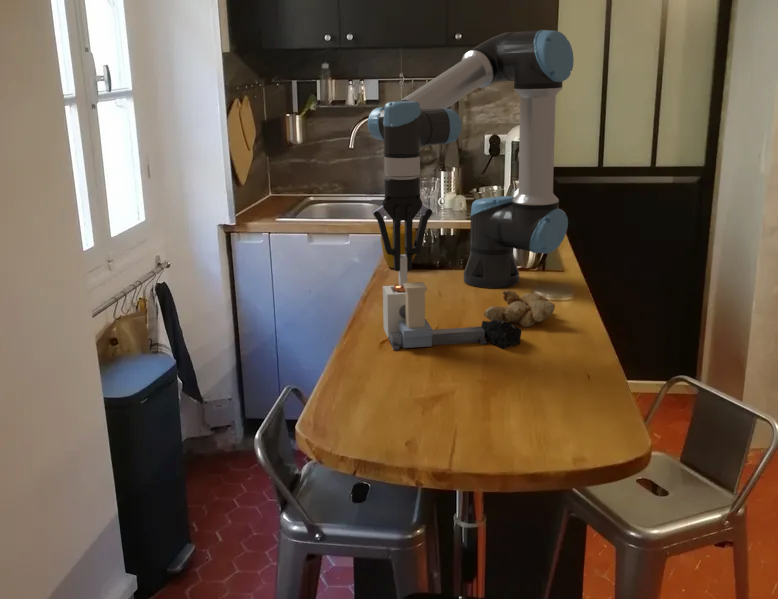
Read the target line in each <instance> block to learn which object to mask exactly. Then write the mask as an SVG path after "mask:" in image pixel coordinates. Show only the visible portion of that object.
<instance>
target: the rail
mask: <svg viewBox="0 0 778 599" xmlns="http://www.w3.org/2000/svg"><path fill="white" fill-rule="evenodd" d="M388 342H389V343H390V346H391V348H392V350H393V351H400V348H403V335H402V333H401V332H390V337H389V340H388ZM474 343H479V344H480V345H481V346H482V345H487V340H486V339H485V331H484V329H483V328H482V327H481V326H469V327H456V328H455V327H453V328H452V327H451V328H439V329H438V328H435V329H432V346H444V345H459V344H474Z"/></svg>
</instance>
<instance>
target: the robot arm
mask: <svg viewBox="0 0 778 599" xmlns="http://www.w3.org/2000/svg"><path fill="white" fill-rule="evenodd" d="M573 67H574V51H573V48H572V45H571V43H570V40H568V38H567V36H566V35H565V34H564V33H563V32H560V31H559V30H548V29H541V30H527V31H510V32H503V33H501V34H498V35H495V36H494V37H491V38H488V39H487V40H485V41H483V42H481V43H479V44H478V45H477V46H475V47H473V48H472V49H470V50H469V51H468V50H467V52H466V53H464V54H463V56H462V58H461V60H460V61H459V62H457V63H456V64H455V65H453V66H451V67H450V68H447V70H445V71H443V72H442V73H441V74H439V75H438V76H436V77H434V78H433V79H431V80H430V81H428V82H427V83H425V84H424V85H422V86H420V87H419V88H417V89H415V91H413V92H411V93H409V94H408V95H407V96H405V97H404V98H402V99H401V100H398V101H388V102H386V103H385V105H384V106H382V107H381V106H380V107H376V108H374V109H373V110H372V111H371V112H370V113H369V115H368V119H367V129H368V132H369V134H370V135H371V137H372V138H373V139H375V140H377V141H383V153H384V154H383V155H384V167H383V168H384V173H383V174H384V176H386V177H385V178H384V199H383V201H382V203H381V204H382V205H381V206H380V207H378V208H377V209H373V210H372V215H373V216H374V217H375V219H376V221H377V223H378V228H379V231H380V232H379V233H380V237H381V236H382V240H383V244H384V248H385V251H386V252H387V254H389V255H393V256H394V268H393V269H394V271H395V272H398V284H399V285H400V286H401V287H403V283H408V271H412V269H413V261H412V256H413V255H414V254H416V255H417V254H419V253H421V250H422V246H423V241H424V238H425V233H426V230H427V226H428V221H429V219H431V218H430V217H431V216H432V214H433V213H434V212H433V210H432V209H431V208H430V207H427V206H425V205H424V204H423V201H422V199H421V179H420V177H418V176H420V175H421V147H423V146H424V147H425V146H436V145H439V146H440V145H441V146H444V145H446V144H451V143H453V142H455V141H457V140H458V138H460V135H461V133H462V120H461V117H460V115H459V113H457V112H456V111H455V110H454V109H451V108H450V107H451V106H452V105H454V104H456V103H457V102H459V101H460V100H462V99H463V98H465V97H466V96H467V95H469V94H470V93H473V92H474V91H475V90H477V89H482V88H483V89H484V88H486V87H488V86H490V85H491V84H494V83H497V82H498V83H499V82H513V91H514V92H515V93H516V94H517V95H518V96H519V135H518V136H519V142H518V143H519V145H518V148H519V150H518V193H517V195H516V196H511V195H508V196H507V195H504V196H503V195H501V196H491V197H483V198H479V199H476V200H474V201H473V202H472V204H471V209H470V210H471V211H470V253H469V258H468V260H467V263H466V265H465V269H464V270H463V282H464V283H465V284H467V285H469V286H473V287H478V288H484V289H485V288H488V289H489V288H490V289H498V288H499V289H500V288H509V287H512V286H516V285H518V284H519V283H520V270H519V268H518V265H517V261H516V258H515V255H514V249H516V250H520V251H521V250H522V251H527V252H531V253H533V254H538V253H539V254H550V253H553V252H554V251H556V250H557V249H558V248H559V247H560V246H561V244H562V242H563V241H564V239H565V237H566V235H567V232H568V231H567V230H568V227H569V226H568V224H569V218H568V215H567V214H566V212H565V211H564V210H563V209H561V208H559V206H560V204H559V203H560V200H559V198H558V197H557V196H556V195H555V194H554V171H555V170H554V164H555V163H554V162H555V134H556V130H555V129H556V125H555V124H556V103H557V102H556V101H557V100H556V99H557V98H556V97H557V95H558V94H559V92H560V91H562V90H563V82H565V81H566V80H568V79H569V77H570V76H571V75H572V74H571V72H572V70H573V69H574V68H573ZM385 212H386V213H387V214H388V216H389V217H390V219H392V225H393V248H391V245H390V241H389V237H388V233H387V229H386V227H387V226H386V223H385V220H384V218H385V216H386V214H385ZM418 213H419V214H420V218H419V222H418V224H417V226H418V227H417V230H416V231H417V233H416V238H415V242H414V246H413V247H412V227H413V224H414V223H413V220H414V219H415V217H416V216H417V214H418ZM402 221H404V226H405V254H403V255H400V226H401V223H402Z"/></svg>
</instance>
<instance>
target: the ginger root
mask: <svg viewBox="0 0 778 599" xmlns="http://www.w3.org/2000/svg"><path fill="white" fill-rule="evenodd" d="M502 294H503V300H504V302H506V304H507V306H500V305H499V306H498V305H492V306H489V307H487V308H486V309H485V311H484V312H483V316H484V317H486V318H487V319H488V320H489V321H493V320H501V321H505V322H510V323H511V322H512V323H515V324H518V323H519V325H521V326H522V327H524V328H529V327H532V326H533V325H535V323H536V322H537V323H538V322H542V321H544V320H547V319H548V318H549V317H551V316H552V315H553V313H554V311H555V307H556V306H555V303H553V302H551V301H549V299H548V298H546V296H543V295H541V294H538V293H532V292H531V293H530V292H526V293H524V294H522V295H521V296H520V295H519V294H518V293H517V292H516V291H511V290H510V289H505V290H503V291H502Z"/></svg>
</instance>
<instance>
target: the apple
mask: <svg viewBox="0 0 778 599" xmlns="http://www.w3.org/2000/svg"><path fill="white" fill-rule="evenodd" d="M386 229H387V233H388V237H389V241H390V245H391V248H393V224H391V225H387V226H386ZM416 233H417V230H416V228H415V227H413V226H412V247H413V246H414V242H415V238H416ZM380 241H381V242H380V243H381V248H382V254H383V258H384V260H385V263H386V265H387V266H388V267H389V268H391V269H394V256H393V255H389V254H387V252H386V251H385V248H384V244H383V240H382V236H381V235H380ZM403 254H405V224H404V225H403V224H402V225H401V226H400V255H403ZM416 255H417V253H416V254H414V255H413V256H412V262H413V261H414V259H415V257H416Z"/></svg>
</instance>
